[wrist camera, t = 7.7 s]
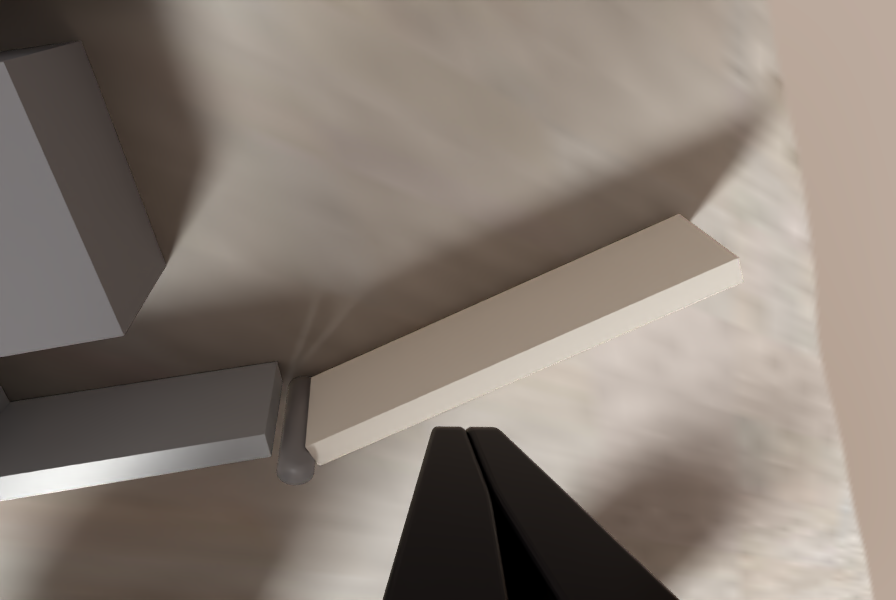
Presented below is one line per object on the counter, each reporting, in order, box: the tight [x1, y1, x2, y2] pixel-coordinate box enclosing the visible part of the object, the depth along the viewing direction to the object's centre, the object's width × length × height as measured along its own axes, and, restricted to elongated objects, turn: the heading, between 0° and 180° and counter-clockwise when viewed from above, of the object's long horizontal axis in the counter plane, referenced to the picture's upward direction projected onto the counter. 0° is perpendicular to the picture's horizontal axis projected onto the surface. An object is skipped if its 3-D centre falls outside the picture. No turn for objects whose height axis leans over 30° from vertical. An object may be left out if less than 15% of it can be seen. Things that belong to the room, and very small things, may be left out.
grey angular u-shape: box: [0, 362, 283, 501], centre depth 15 cm, size 13×9×4 cm
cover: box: [277, 214, 744, 485], centre depth 18 cm, size 14×1×4 cm, turn 113°
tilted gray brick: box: [0, 41, 166, 357], centre depth 14 cm, size 6×4×4 cm, turn 7°
